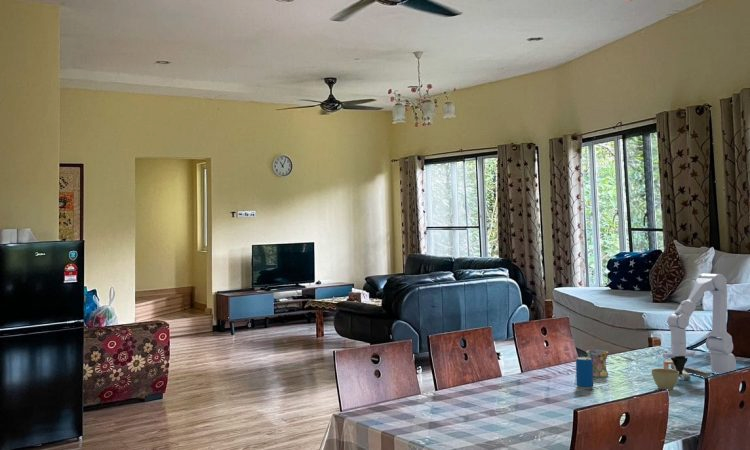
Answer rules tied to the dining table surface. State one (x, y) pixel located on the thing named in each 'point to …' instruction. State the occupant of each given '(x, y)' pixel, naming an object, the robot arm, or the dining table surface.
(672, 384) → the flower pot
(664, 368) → the sleeve
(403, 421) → the dining table surface
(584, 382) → the beverage can
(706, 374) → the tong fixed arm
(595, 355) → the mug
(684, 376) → the tong jaw
